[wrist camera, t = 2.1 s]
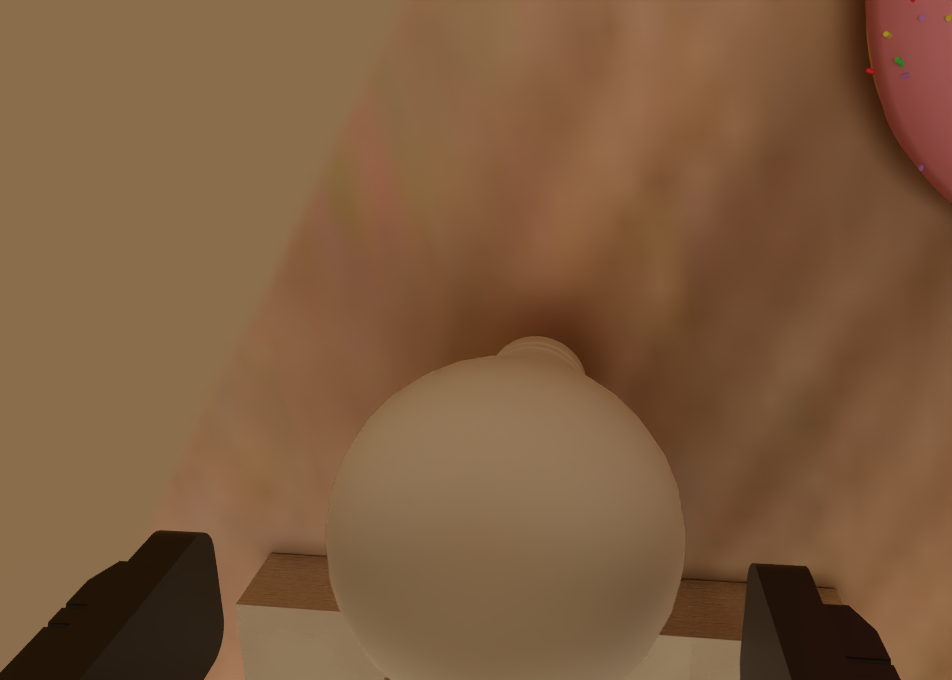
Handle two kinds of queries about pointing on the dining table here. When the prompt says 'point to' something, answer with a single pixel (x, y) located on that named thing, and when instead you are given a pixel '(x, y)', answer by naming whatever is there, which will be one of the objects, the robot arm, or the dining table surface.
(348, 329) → the dining table surface
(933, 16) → the doughnut
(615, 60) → the dining table surface
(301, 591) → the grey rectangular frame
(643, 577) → the lightbulb
